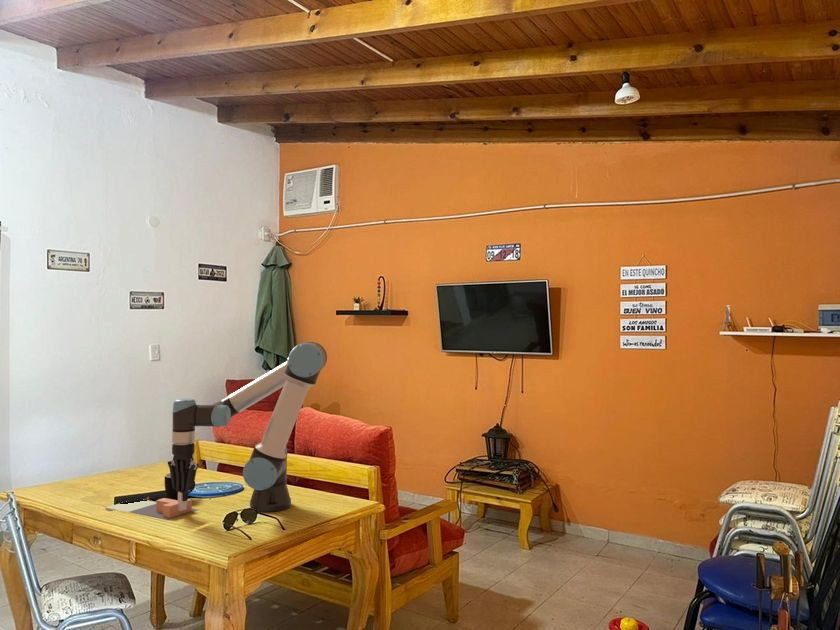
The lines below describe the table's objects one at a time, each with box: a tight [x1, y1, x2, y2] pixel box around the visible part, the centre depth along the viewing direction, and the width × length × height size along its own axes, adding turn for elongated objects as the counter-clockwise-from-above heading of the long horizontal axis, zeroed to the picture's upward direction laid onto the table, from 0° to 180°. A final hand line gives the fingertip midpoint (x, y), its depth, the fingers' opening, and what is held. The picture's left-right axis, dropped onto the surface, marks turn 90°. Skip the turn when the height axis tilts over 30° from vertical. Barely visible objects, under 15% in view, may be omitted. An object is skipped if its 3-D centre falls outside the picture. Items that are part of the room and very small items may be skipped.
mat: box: [105, 499, 198, 521], centre depth 235 cm, size 32×14×1 cm, turn 63°
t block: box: [155, 497, 193, 518], centre depth 230 cm, size 10×10×4 cm
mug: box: [164, 473, 196, 500], centre depth 249 cm, size 12×9×10 cm
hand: (182, 509), depth 228 cm, fingers closed
